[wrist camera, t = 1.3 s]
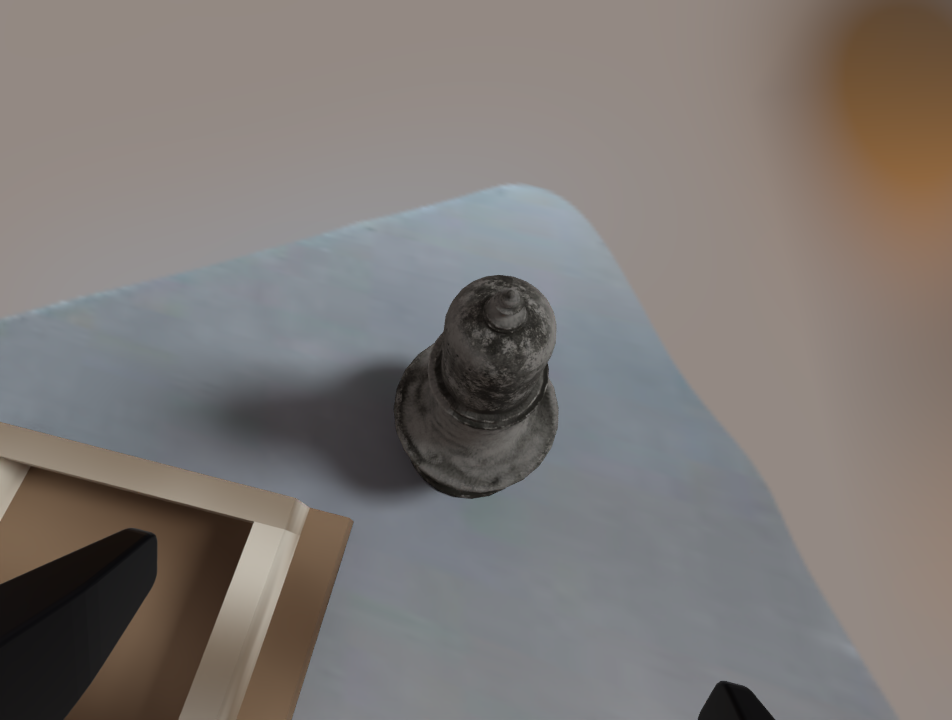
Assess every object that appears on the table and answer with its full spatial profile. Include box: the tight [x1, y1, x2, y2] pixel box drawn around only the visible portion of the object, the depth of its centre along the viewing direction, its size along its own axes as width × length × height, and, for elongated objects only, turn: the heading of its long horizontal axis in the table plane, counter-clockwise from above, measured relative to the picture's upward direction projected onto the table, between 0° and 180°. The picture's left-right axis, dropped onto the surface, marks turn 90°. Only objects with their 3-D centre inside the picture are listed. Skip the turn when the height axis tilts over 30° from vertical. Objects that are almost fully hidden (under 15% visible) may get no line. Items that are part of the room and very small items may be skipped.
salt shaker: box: [394, 275, 558, 499], centre depth 18 cm, size 6×6×12 cm
